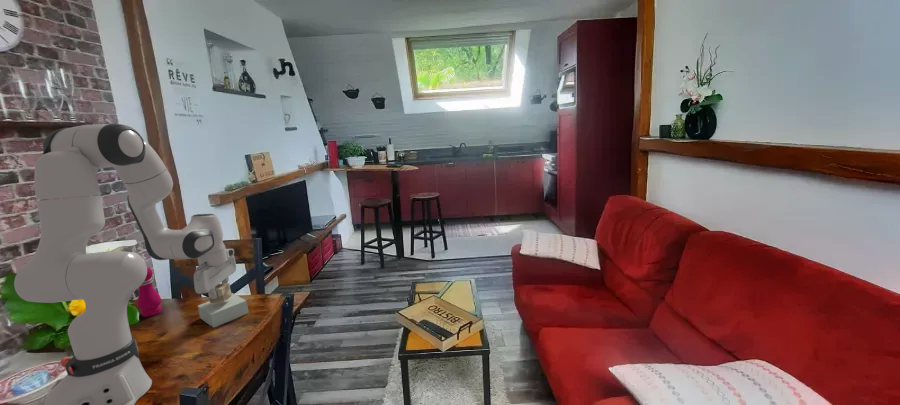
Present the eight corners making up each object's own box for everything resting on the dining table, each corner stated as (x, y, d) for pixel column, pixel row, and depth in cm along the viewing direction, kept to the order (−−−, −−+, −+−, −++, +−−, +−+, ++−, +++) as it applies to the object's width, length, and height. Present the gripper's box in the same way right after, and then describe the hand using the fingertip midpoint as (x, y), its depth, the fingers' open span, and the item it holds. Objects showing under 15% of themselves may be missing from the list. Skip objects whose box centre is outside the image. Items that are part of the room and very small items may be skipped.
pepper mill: (154, 317, 144) (141, 266, 140) (135, 318, 144) (122, 267, 140) (168, 307, 151) (156, 259, 147) (150, 308, 151) (138, 260, 147)
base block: (213, 327, 133) (210, 314, 132) (200, 318, 141) (197, 305, 140) (248, 313, 142) (246, 300, 141) (234, 304, 150) (232, 292, 149)
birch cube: (224, 302, 138) (221, 289, 137) (210, 303, 138) (207, 290, 137) (231, 295, 143) (229, 283, 141) (218, 296, 142) (215, 284, 141)
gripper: (204, 268, 127) (212, 307, 130) (236, 247, 146) (242, 281, 149) (184, 269, 126) (193, 308, 129) (219, 248, 146) (226, 282, 149)
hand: (220, 293), depth 140 cm, fingers closed on birch cube, 5 cm apart
